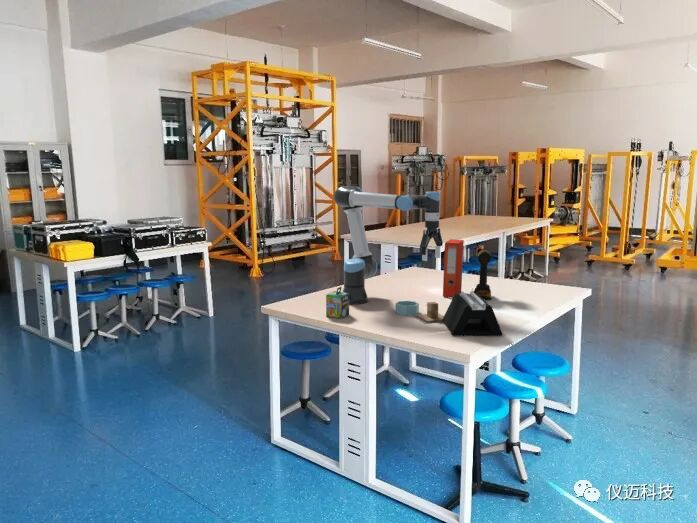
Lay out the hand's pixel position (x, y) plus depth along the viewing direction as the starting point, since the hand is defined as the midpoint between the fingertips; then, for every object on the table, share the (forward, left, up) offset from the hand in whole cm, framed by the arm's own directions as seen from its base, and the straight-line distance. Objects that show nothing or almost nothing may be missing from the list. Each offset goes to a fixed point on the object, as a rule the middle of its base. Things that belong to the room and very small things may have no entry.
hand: (431, 259), depth 308 cm
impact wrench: (+38, +7, -25) cm, 46 cm away
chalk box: (-56, -10, -25) cm, 62 cm away
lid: (-14, -32, -24) cm, 42 cm away
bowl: (-21, -17, -25) cm, 37 cm away
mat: (-14, -32, -25) cm, 43 cm away
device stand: (-4, -52, -25) cm, 57 cm away
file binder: (+23, +17, -25) cm, 38 cm away
